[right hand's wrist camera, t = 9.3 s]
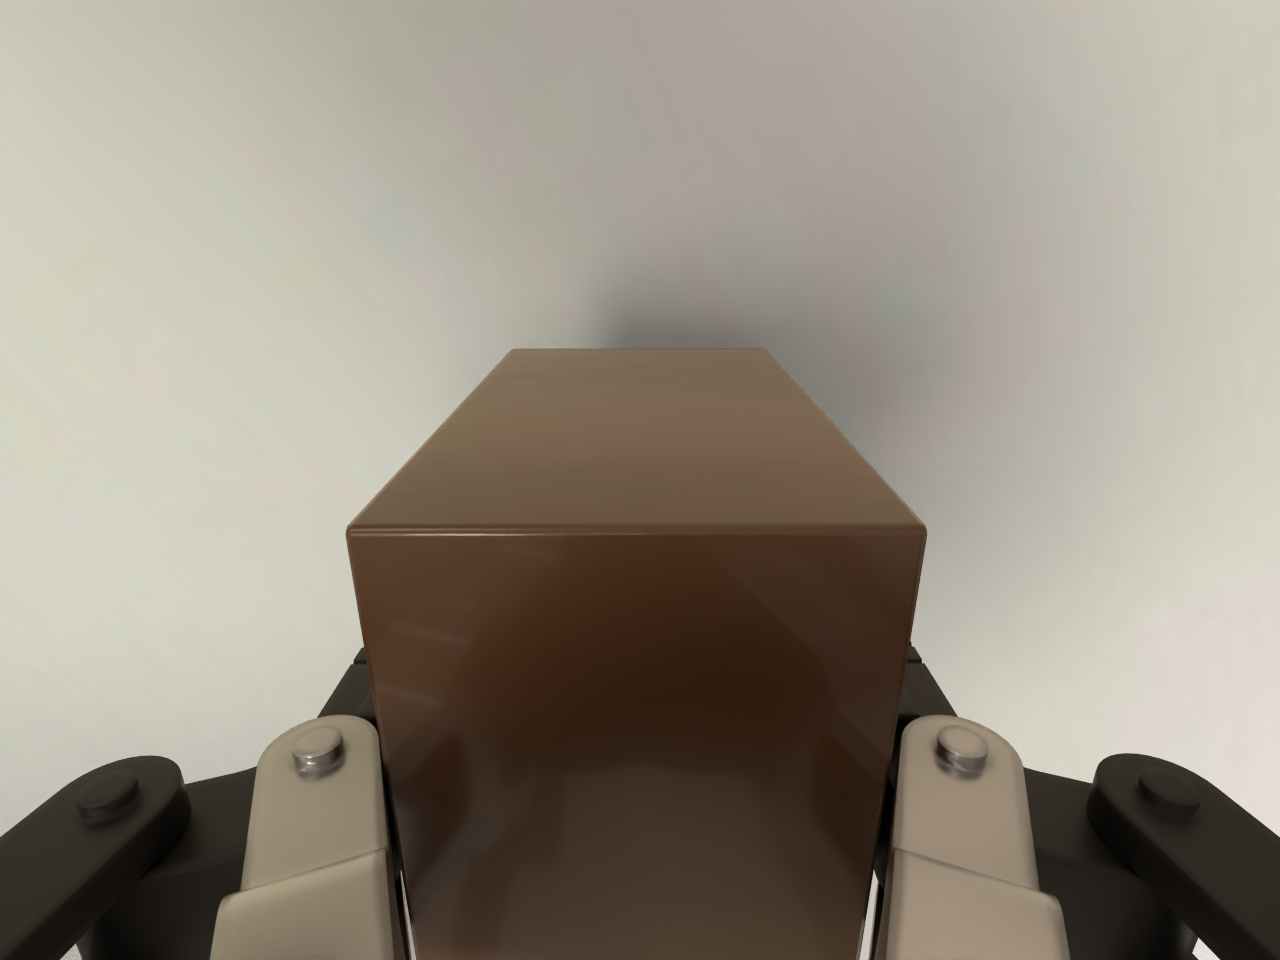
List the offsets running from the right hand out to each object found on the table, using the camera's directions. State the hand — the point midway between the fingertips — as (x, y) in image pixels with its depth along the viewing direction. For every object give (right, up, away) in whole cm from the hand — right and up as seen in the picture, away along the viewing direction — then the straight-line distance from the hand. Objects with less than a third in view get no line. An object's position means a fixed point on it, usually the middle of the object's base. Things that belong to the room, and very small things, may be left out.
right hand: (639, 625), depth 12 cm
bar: (0, -6, +7) cm, 9 cm away
